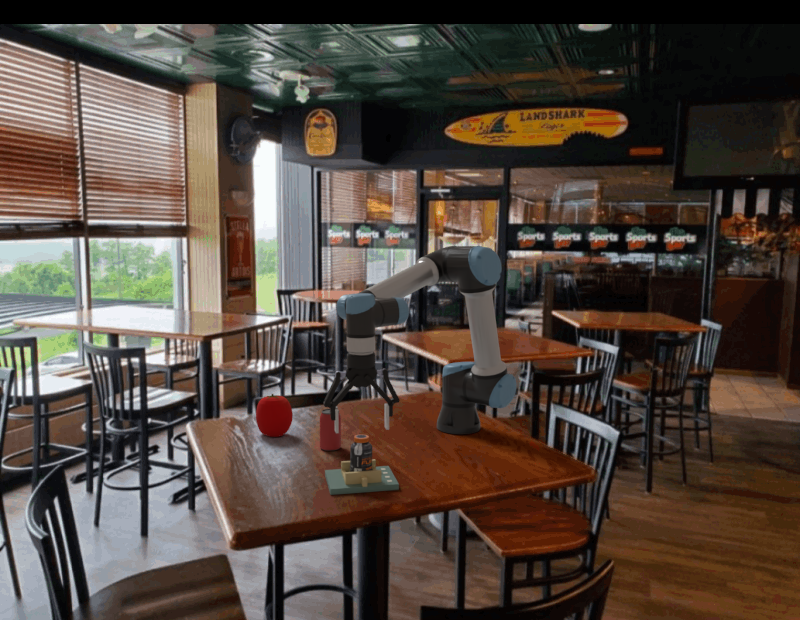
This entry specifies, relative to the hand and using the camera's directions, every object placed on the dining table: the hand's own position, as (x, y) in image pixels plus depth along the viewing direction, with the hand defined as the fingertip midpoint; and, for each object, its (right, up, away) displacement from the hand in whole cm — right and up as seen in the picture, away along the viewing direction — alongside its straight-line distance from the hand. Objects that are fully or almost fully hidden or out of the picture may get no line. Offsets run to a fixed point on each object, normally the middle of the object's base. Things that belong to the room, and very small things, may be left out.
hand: (362, 430), depth 174 cm
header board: (0, -14, +1) cm, 14 cm away
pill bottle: (0, -13, +1) cm, 13 cm away
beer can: (-12, -11, +29) cm, 34 cm away
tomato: (-32, -10, +42) cm, 54 cm away
